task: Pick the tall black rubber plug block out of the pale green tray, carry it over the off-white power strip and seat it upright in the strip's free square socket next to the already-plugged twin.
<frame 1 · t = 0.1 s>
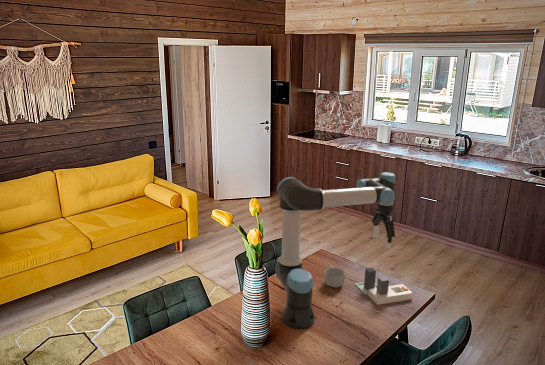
hand: (381, 242, 219), 28 cm above the table, fingers open, 13 cm apart
plug: (369, 287, 228), resting on tray
tray: (369, 288, 228), on the table
teacup: (333, 283, 233), on the table
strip: (389, 297, 220), on the table
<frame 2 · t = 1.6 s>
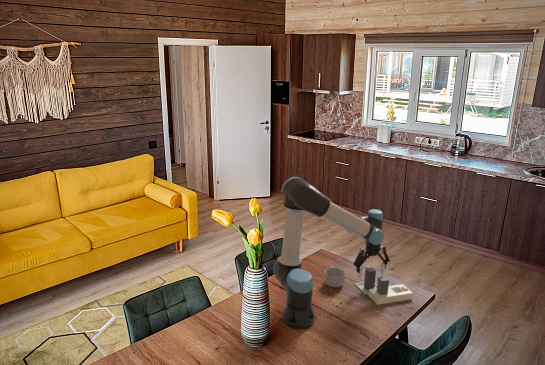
hand: (370, 275, 226), 8 cm above the table, fingers open, 13 cm apart
nothing on the table moved.
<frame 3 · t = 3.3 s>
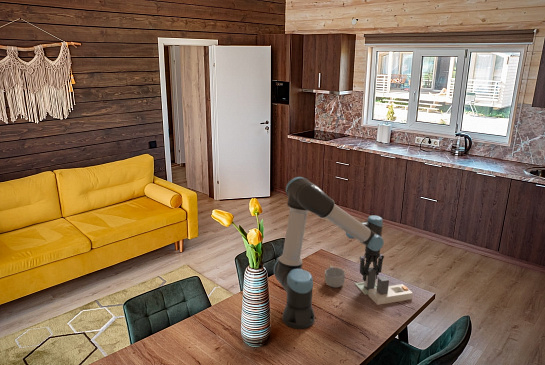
hand: (369, 285, 228), 2 cm above the table, fingers closed on plug, 4 cm apart
plug: (369, 287, 228), resting on tray, touching gripper
everything else where it was.
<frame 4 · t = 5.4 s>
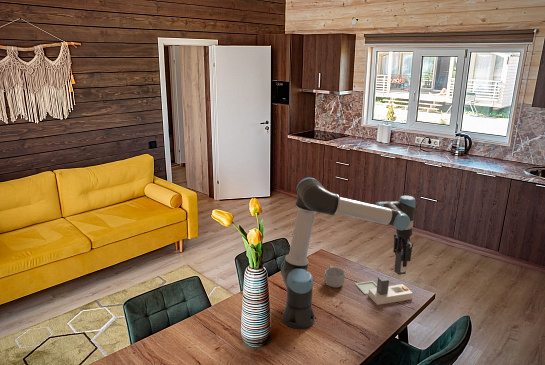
hand: (400, 269, 217), 16 cm above the table, fingers closed on plug, 4 cm apart
plug: (399, 272, 217), point 14 cm above the table, touching gripper
everything else where it was.
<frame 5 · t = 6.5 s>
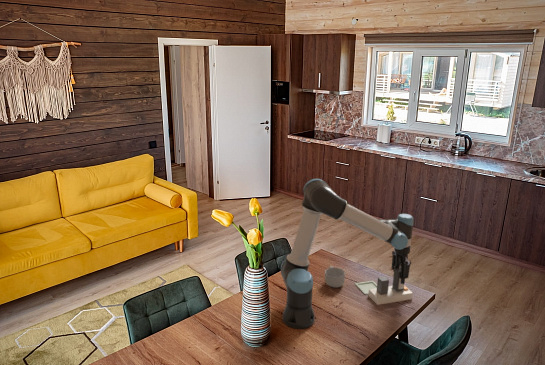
hand: (398, 286, 219), 6 cm above the table, fingers closed on plug, 4 cm apart
plug: (397, 289, 220), point 4 cm above the table, touching gripper
everything else where it was.
when the fingers open (4 cm above the table, at t = 7.4 s): plug drops 2 cm, resting on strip.
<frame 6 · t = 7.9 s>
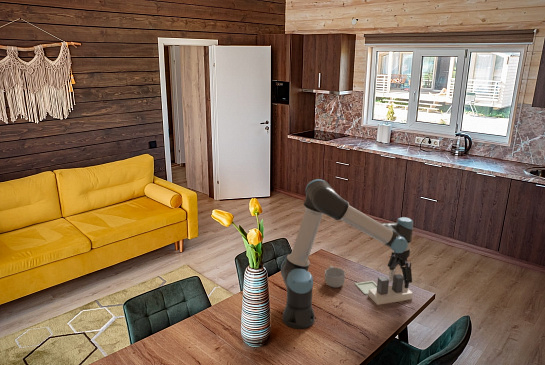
hand: (397, 286, 219), 6 cm above the table, fingers open, 11 cm apart
plug: (396, 295, 221), point 1 cm above the table, touching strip
everything else where it was.
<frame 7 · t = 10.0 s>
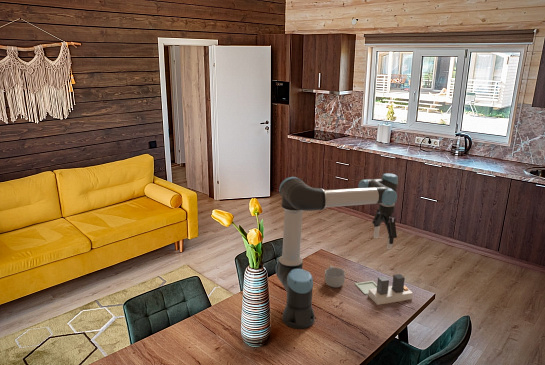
hand: (382, 243, 219), 27 cm above the table, fingers open, 13 cm apart
nothing on the table moved.
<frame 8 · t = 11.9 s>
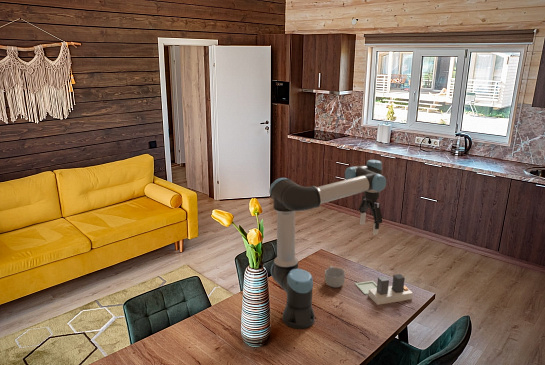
hand: (368, 229, 222), 33 cm above the table, fingers open, 13 cm apart
nothing on the table moved.
at the end: plug 0.0 cm from the target spot on the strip, point 0.8 cm above the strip's base; plug tilted 0°; the gripper is holding nothing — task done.
